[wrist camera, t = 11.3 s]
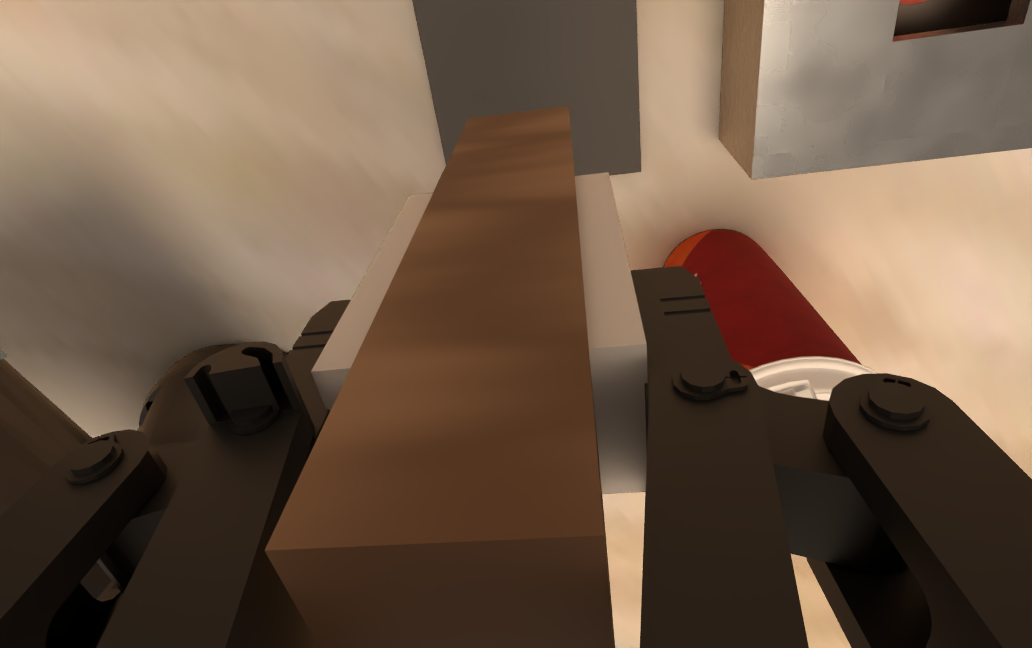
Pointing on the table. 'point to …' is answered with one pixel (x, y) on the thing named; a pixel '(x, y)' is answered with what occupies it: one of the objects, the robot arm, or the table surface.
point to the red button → (910, 1)
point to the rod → (465, 427)
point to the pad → (538, 70)
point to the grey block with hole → (868, 86)
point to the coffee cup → (766, 316)
